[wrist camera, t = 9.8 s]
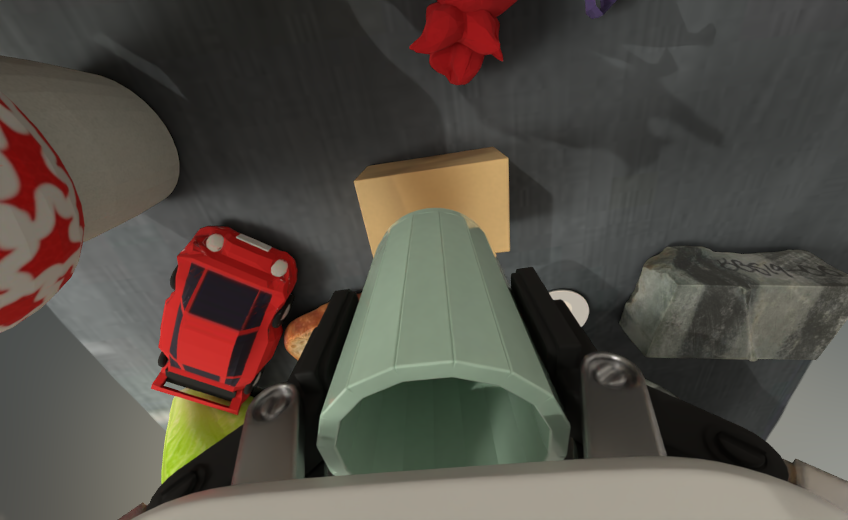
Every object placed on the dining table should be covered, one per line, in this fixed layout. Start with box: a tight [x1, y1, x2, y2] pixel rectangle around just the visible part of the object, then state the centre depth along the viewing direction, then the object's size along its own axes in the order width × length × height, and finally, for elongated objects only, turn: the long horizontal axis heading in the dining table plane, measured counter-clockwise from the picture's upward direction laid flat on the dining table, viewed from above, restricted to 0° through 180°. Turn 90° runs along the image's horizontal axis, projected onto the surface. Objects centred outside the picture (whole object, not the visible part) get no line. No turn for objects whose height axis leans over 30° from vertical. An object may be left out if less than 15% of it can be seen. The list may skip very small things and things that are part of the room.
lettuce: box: [162, 388, 254, 484], centre depth 34 cm, size 13×23×12 cm
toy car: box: [151, 226, 298, 415], centre depth 29 cm, size 10×20×5 cm, turn 155°
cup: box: [316, 208, 571, 476], centre depth 11 cm, size 6×6×9 cm
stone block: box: [619, 246, 848, 362], centre depth 26 cm, size 9×14×5 cm, turn 92°
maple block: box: [354, 147, 510, 258], centre depth 23 cm, size 10×7×5 cm, turn 99°
